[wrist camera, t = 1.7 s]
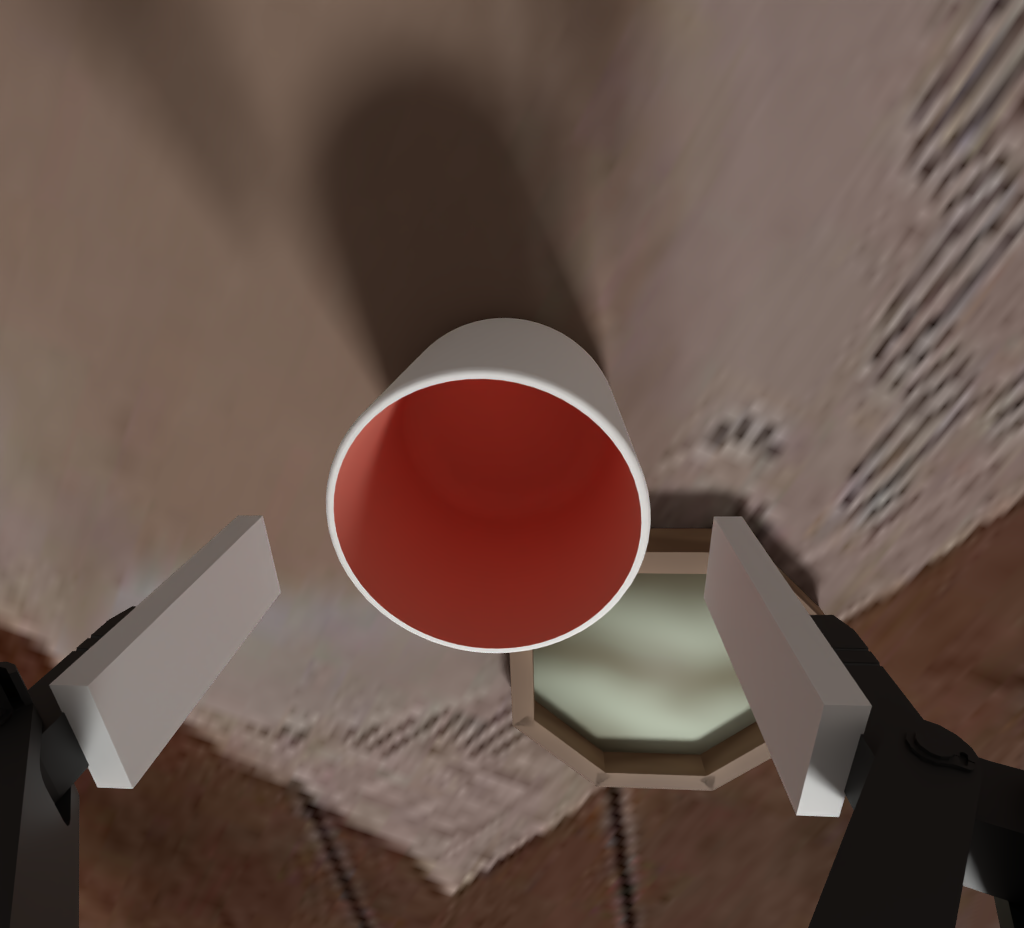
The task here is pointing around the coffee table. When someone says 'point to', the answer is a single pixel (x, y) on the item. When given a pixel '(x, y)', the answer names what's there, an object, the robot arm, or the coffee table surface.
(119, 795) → the coffee table surface
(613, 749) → the tray
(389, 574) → the cup
